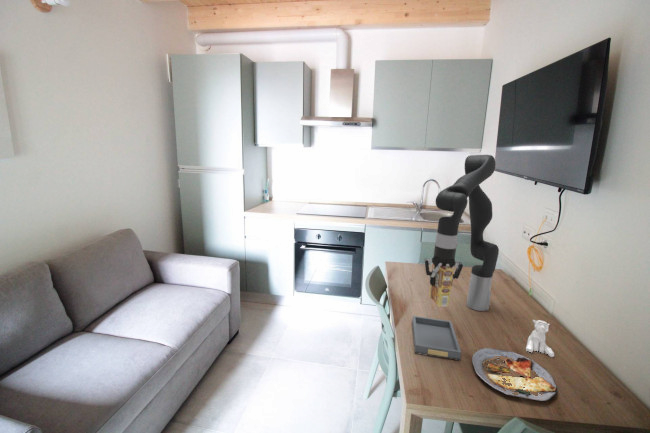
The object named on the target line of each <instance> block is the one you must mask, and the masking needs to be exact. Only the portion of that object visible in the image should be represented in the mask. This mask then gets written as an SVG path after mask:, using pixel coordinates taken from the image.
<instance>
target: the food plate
mask: <svg viewBox="0 0 650 433" xmlns="http://www.w3.org/2000/svg"><path fill="white" fill-rule="evenodd" d="M494 356H504V357H509V358H512V359H514V361H512V360H510V359H504V361H505V363H506V365H507V366H508V367H509V368H508V367H506V366H502V365H497V364H496V363H491V362H487V364H488V365H486V366H487V369H488V370H490V371H494V372H502V373H510V370H509V369H511V370H513V371H515V372H516V373H518V374H520V375H525V376H526V377H527V378H523V377H512V376H502V375H501V374H500V375H499V374H494V373H493V374H492V373H486V374H487V375H488V376H489V378H490V380H491V381H492V382H493V383H494V385H493V384H492V383H490V381H489V379H487V376H486V375H485V373H484V371H483V370H484V369H483V362H484V361H486V360H487V359H490V358H495V357H494ZM497 358H499V357H497ZM471 360H472V361H471V362H472V366H473V368H474V371H475V374H476V375H477V376H479V377H480V379H481V380H483V381H484V382H485V383H486V384H488V385H489V386H491V387H492V388H493V389H495V390H497V391H498V392H501V393H503V394H505V395H508V396H512V397H519V398H522V399H529V400H535V401H540V402H541V401H542V402H544V401H545V402H547V401H549V400H551V399H552V398H553V397H555V396H556V395H557V394H558V393H557V390H558V385H557V383H556V381H555V379H554V377H553V375H552V374H551V373H550V372H549V371H548V370H547V369H546V368H544V366H542V365H540V364H539V363H538V362H536V361H535V360H533V359H532V358H529V357H526V356H525V355H522V354H519V353H516V352H514V351H509V350H502V349H497V348H489V347H487V348H486V347H485V348H480V349H479V350H477V351H475V353H474V354H473V355H472V358H471ZM504 361H503V362H504ZM487 369H486V370H487ZM531 370H533V371H535V372H536V374H537V375H538V376H539V377H535V378H533V379H530V378H531V377H530V376H531ZM490 371H489V372H490ZM502 378H505V379H506V380H507V381H506V380H505V381H506V383H511V384H512V386H511V385H510V386H508V385H505V384H504V385H503V384H502V383H503V382H502V381H504V380H503V379H502ZM509 379H510V380H509ZM498 380H500V381H498ZM509 381H510V382H509ZM523 387H525V388H523ZM502 388H503V389H505V390H506V391H504V390H503V389H502ZM508 389H515V390H516V391H513V392H512V391H511V390H508ZM522 389H523V390H522ZM524 390H526V391H528V392H526V391H524ZM530 391H531V392H535V393H537V392H538V396H535V395H533V394H530ZM514 392H516V393H517V392H519V394H518V395H514V394H512V393H514ZM539 393H544V394H542V395H541V394H539ZM526 396H528V397H526Z"/></svg>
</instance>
